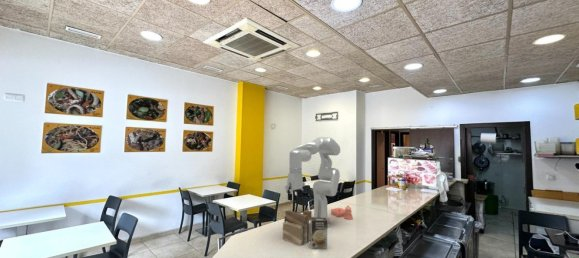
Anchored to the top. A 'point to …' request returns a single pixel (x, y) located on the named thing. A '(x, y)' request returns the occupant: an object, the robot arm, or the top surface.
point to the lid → (308, 218)
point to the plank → (296, 218)
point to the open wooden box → (296, 233)
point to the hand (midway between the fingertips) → (295, 198)
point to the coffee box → (318, 233)
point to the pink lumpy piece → (342, 212)
